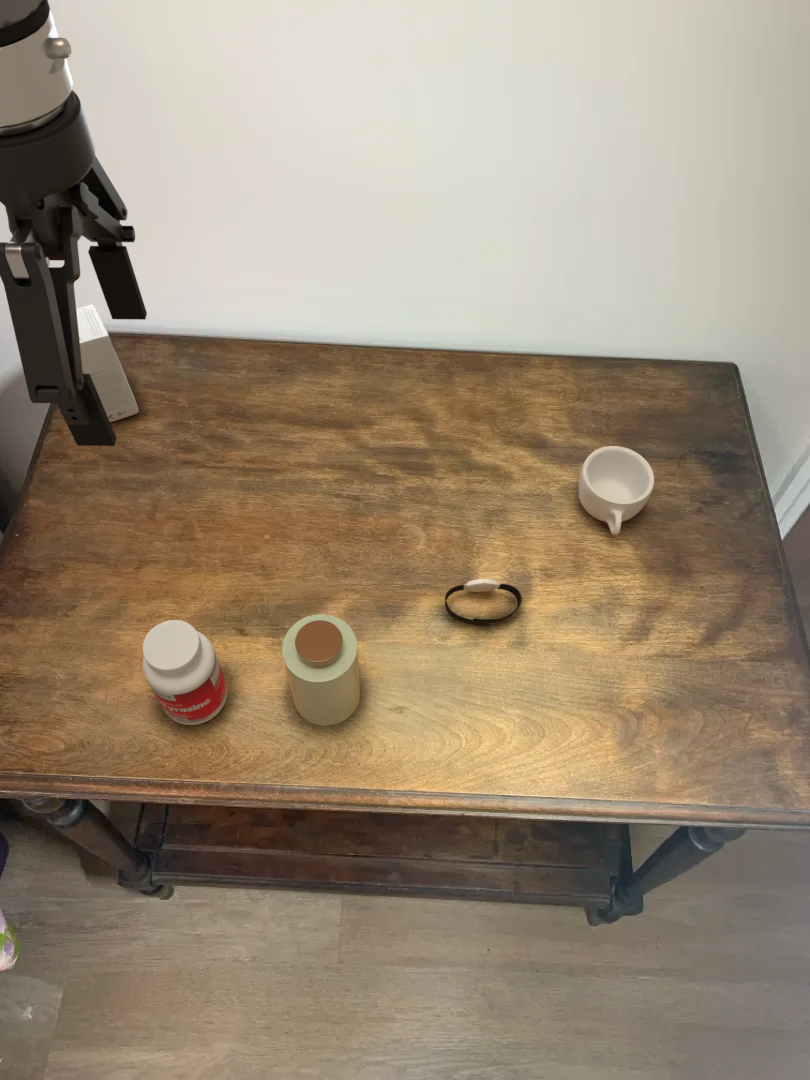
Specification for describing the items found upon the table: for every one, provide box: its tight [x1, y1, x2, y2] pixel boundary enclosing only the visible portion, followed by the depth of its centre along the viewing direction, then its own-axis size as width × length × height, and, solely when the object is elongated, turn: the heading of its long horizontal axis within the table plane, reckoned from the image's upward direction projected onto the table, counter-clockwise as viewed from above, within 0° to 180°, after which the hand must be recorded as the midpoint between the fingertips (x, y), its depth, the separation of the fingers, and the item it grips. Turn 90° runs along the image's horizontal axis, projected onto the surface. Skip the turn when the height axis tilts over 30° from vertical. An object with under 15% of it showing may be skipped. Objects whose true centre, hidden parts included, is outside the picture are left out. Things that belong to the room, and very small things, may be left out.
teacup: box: [578, 445, 655, 536], centre depth 88 cm, size 10×8×5 cm
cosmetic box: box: [76, 303, 140, 423], centre depth 93 cm, size 6×4×12 cm
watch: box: [444, 578, 523, 627], centre depth 81 cm, size 8×5×4 cm, turn 92°
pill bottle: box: [142, 619, 228, 726], centre depth 72 cm, size 6×6×11 cm
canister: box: [281, 613, 361, 727], centre depth 73 cm, size 6×6×11 cm
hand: (114, 375), depth 63 cm, fingers open, 13 cm apart
